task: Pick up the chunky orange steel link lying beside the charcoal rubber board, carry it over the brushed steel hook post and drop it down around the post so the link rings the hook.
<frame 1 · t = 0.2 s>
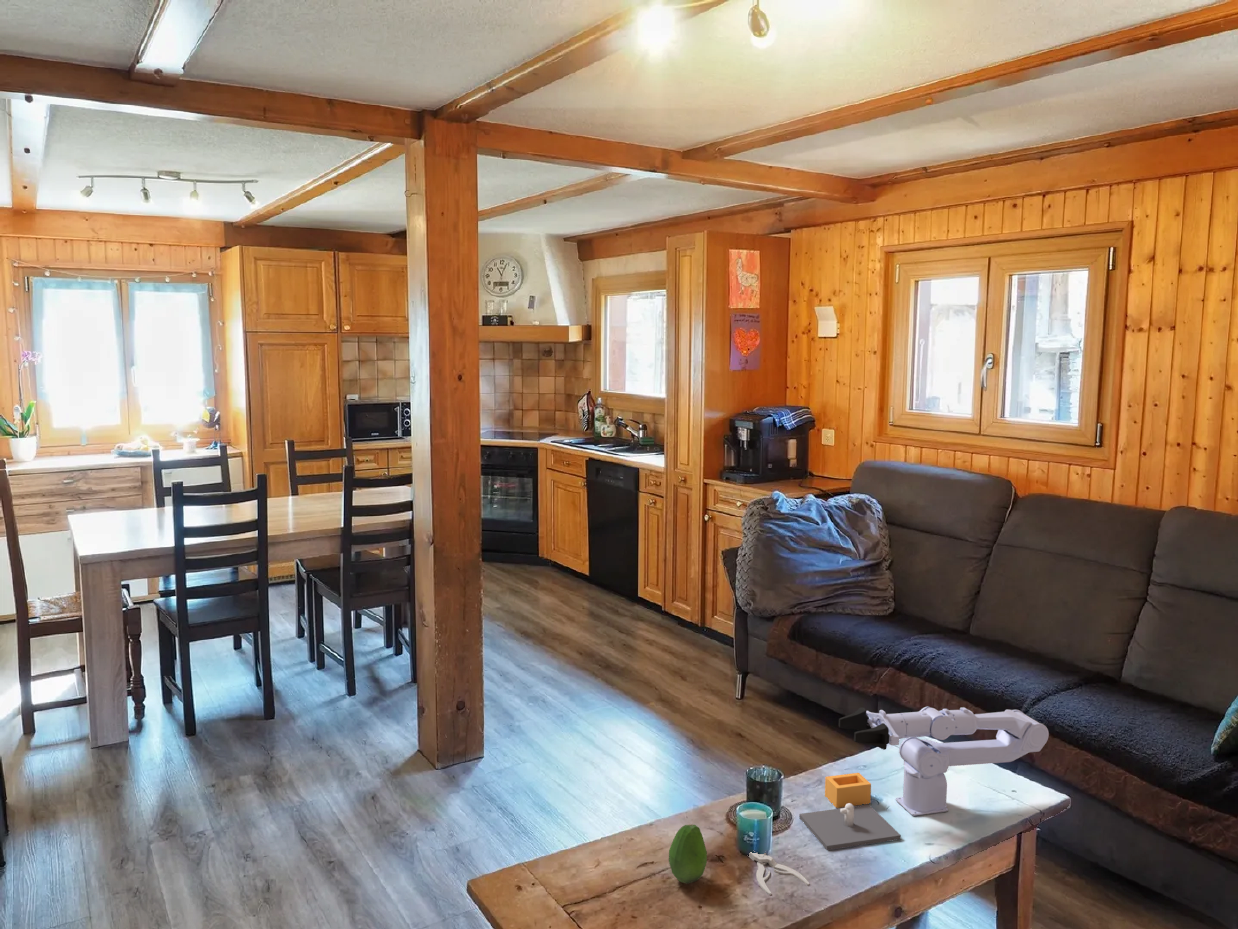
hand: (846, 730, 206), 21 cm above the table, tool horizontal, fingers open, 7 cm apart
pliers: (770, 872, 187), on the table
hook board: (848, 828, 203), on the table
orange link: (847, 799, 216), on the table
avocado: (687, 880, 184), on the table
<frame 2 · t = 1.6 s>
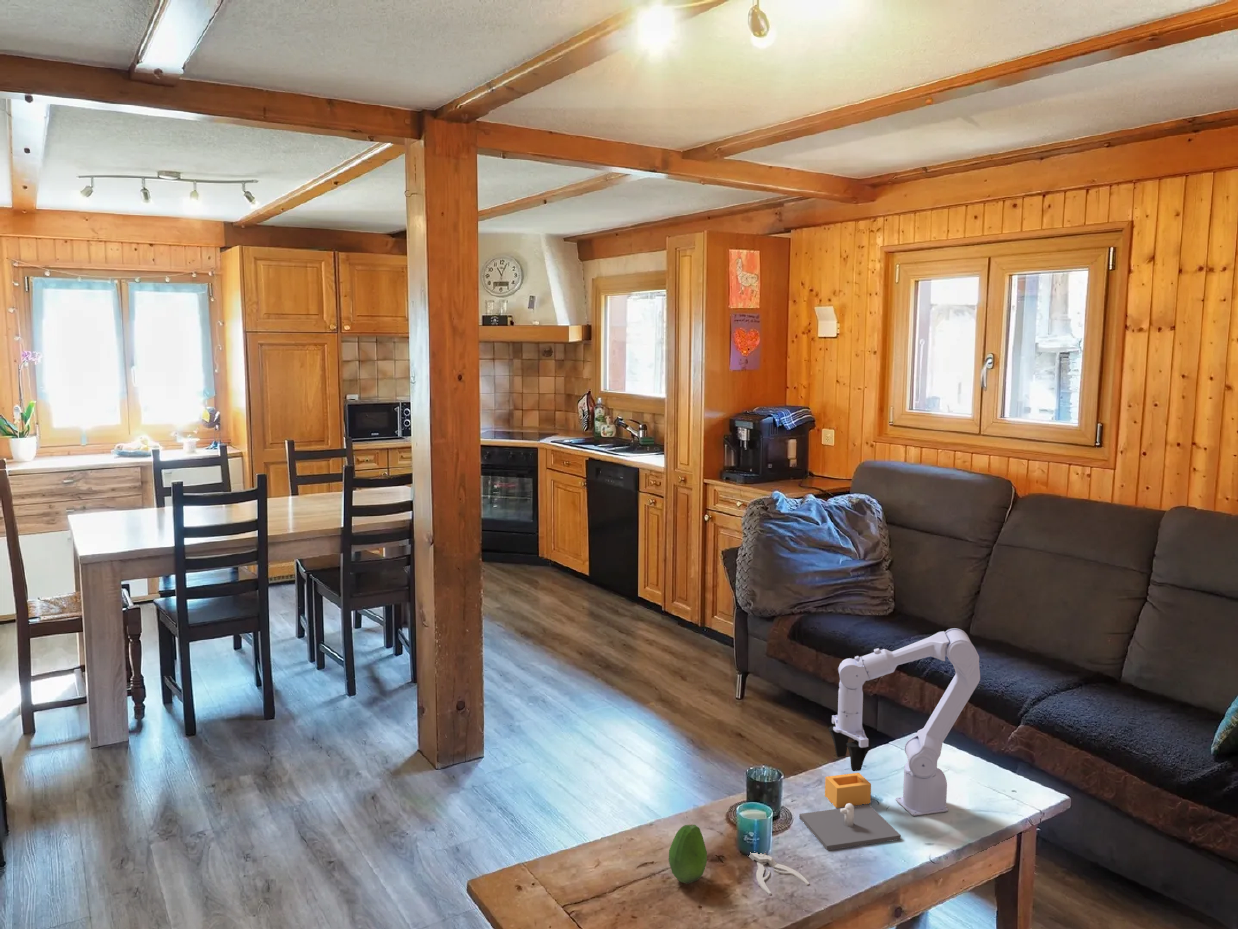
hand: (848, 763, 215), 9 cm above the table, tool pointing down, fingers open, 7 cm apart
nothing on the table moved.
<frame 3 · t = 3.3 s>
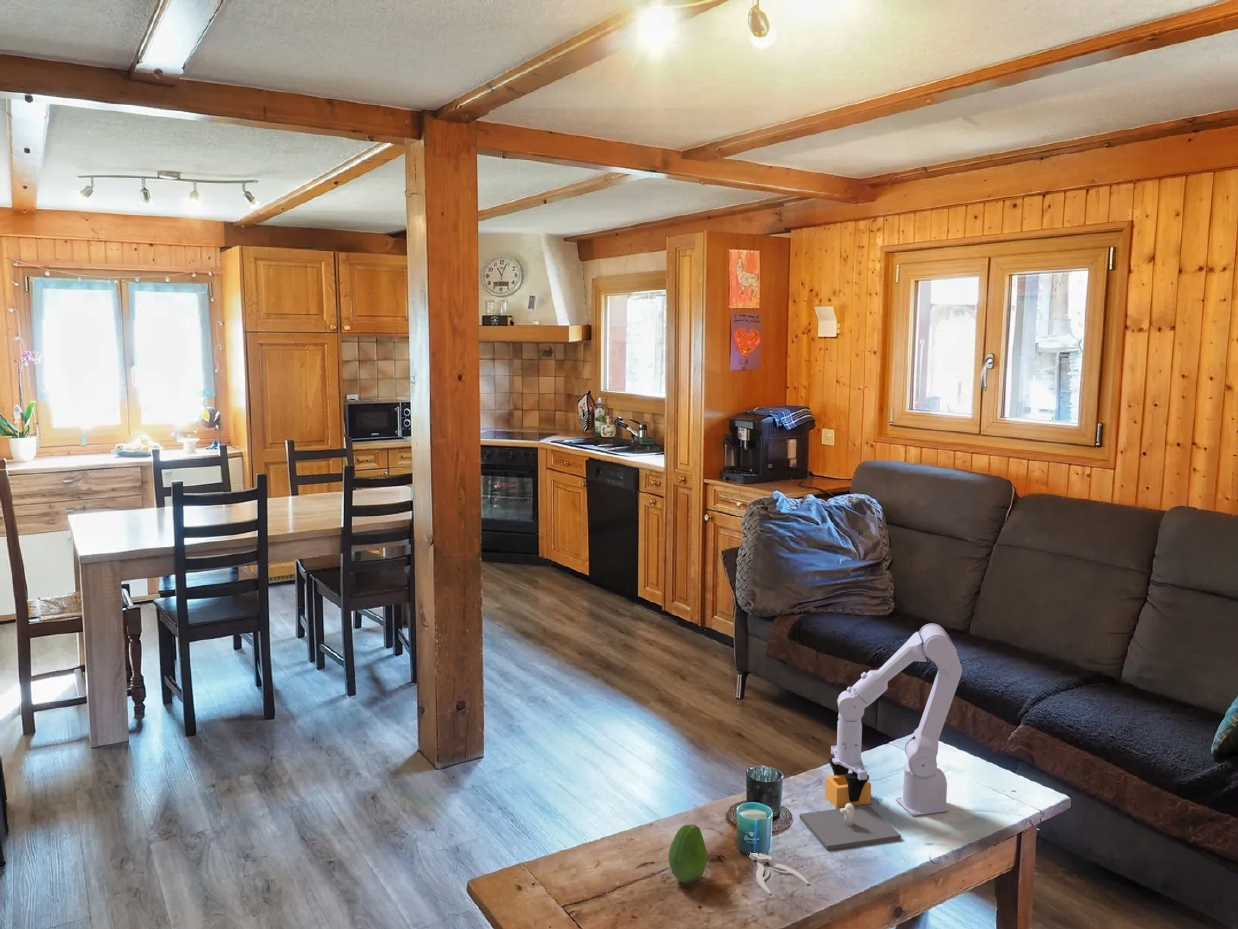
hand: (847, 794, 216), 1 cm above the table, tool pointing down, fingers closed on orange link, 6 cm apart
orange link: (847, 799, 216), on the table, touching gripper
everything else where it was.
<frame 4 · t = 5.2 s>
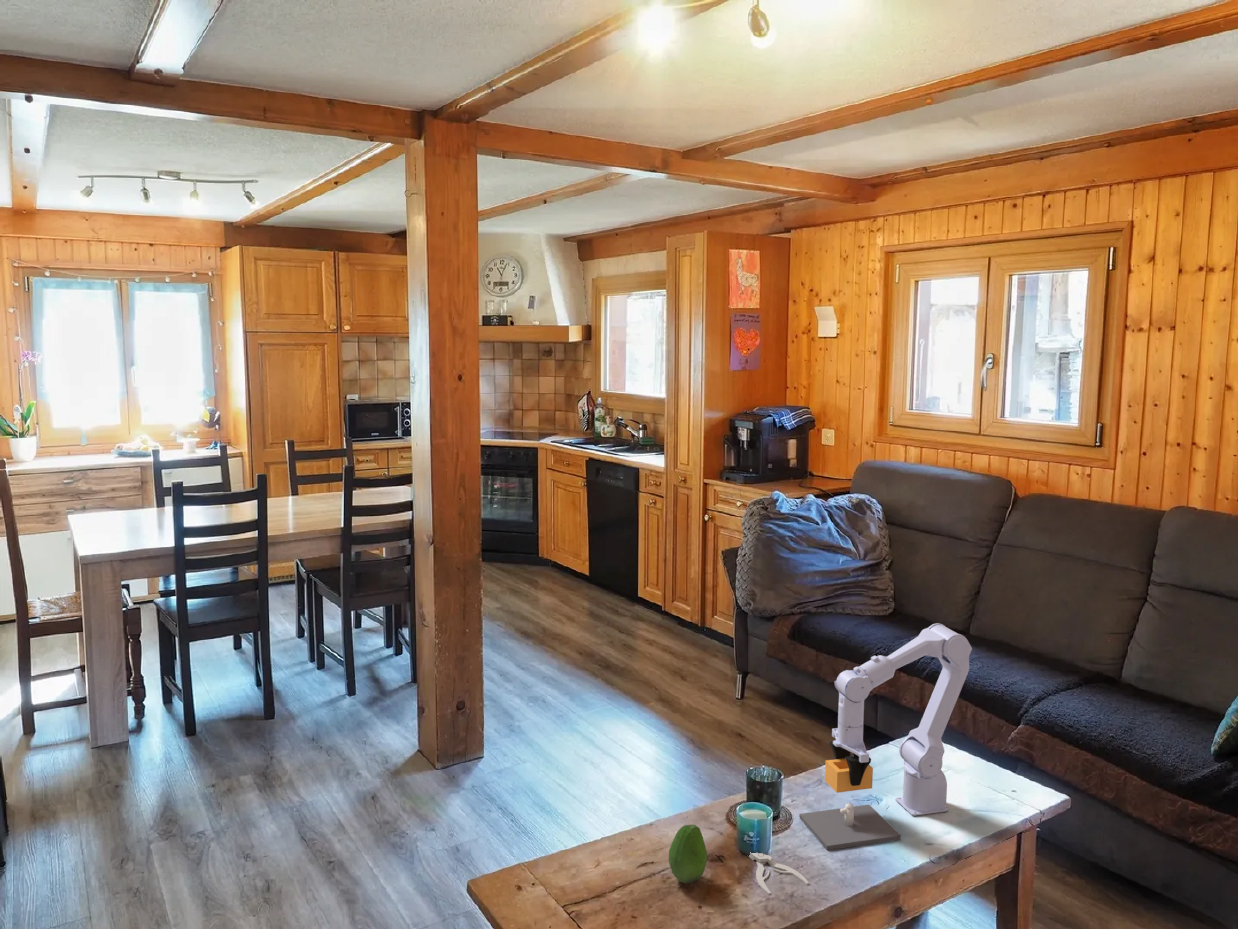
hand: (848, 778, 208), 9 cm above the table, tool pointing down, fingers closed on orange link, 6 cm apart
orange link: (848, 784, 209), point 7 cm above the table, touching gripper
everything else where it was.
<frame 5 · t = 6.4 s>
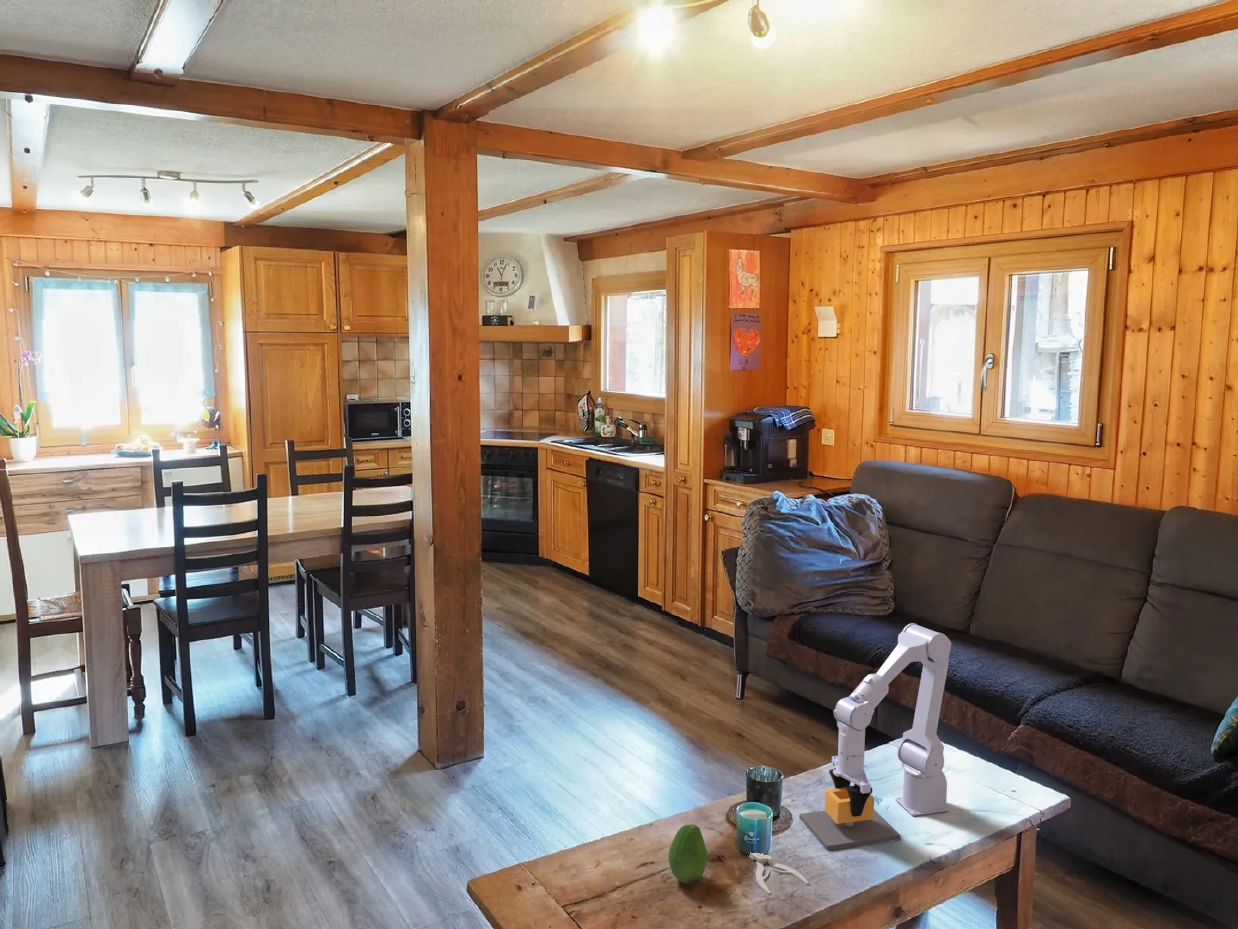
hand: (849, 808, 203), 5 cm above the table, tool pointing down, fingers closed on orange link, 6 cm apart
orange link: (848, 814, 203), point 3 cm above the table, touching gripper
everything else where it was.
when the fingers open (5 cm above the table, at t = 7.4 s): orange link drops 2 cm, resting on hook board.
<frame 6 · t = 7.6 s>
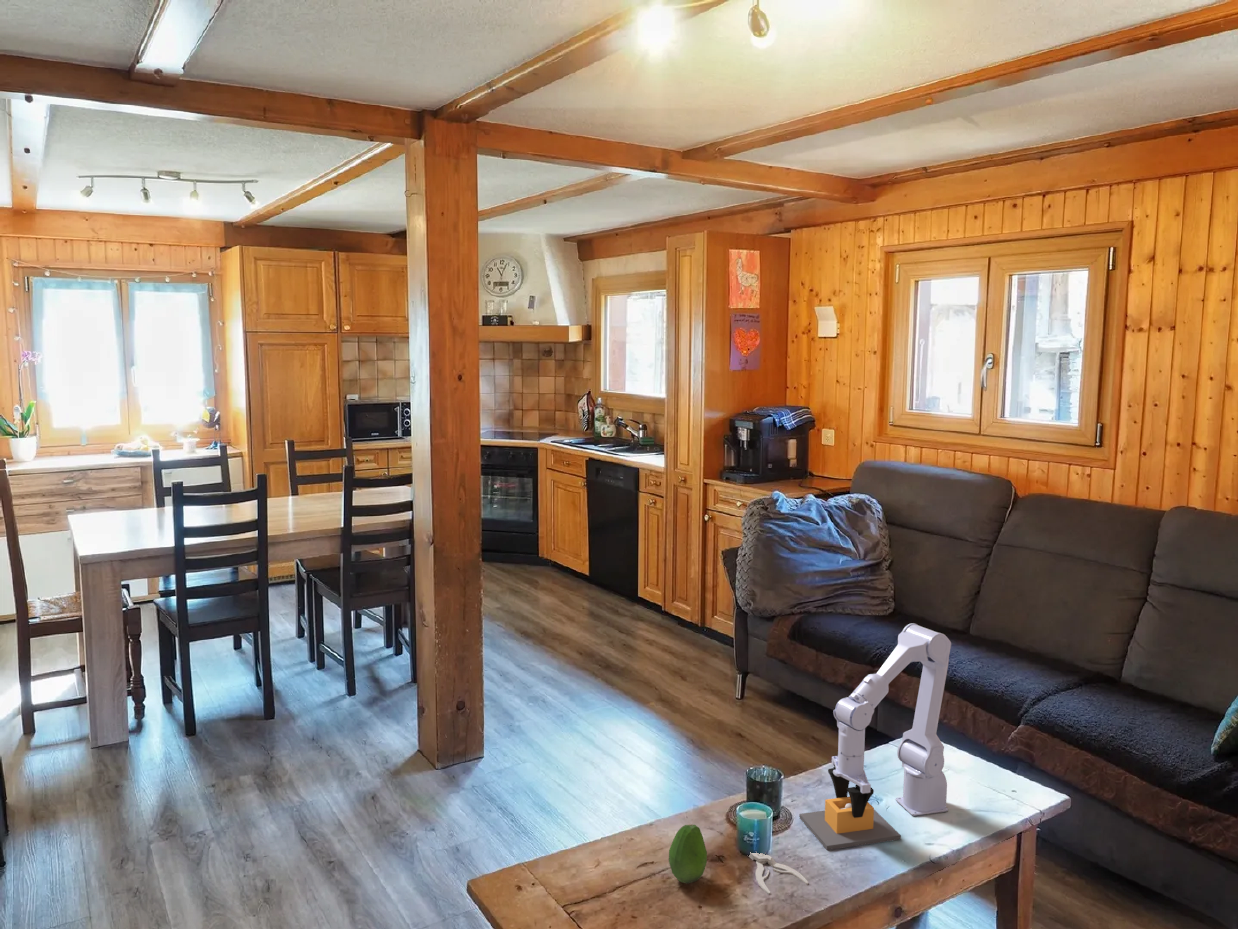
hand: (849, 808, 203), 5 cm above the table, tool pointing down, fingers open, 7 cm apart
orange link: (848, 824, 203), point 1 cm above the table, touching hook board
everything else where it was.
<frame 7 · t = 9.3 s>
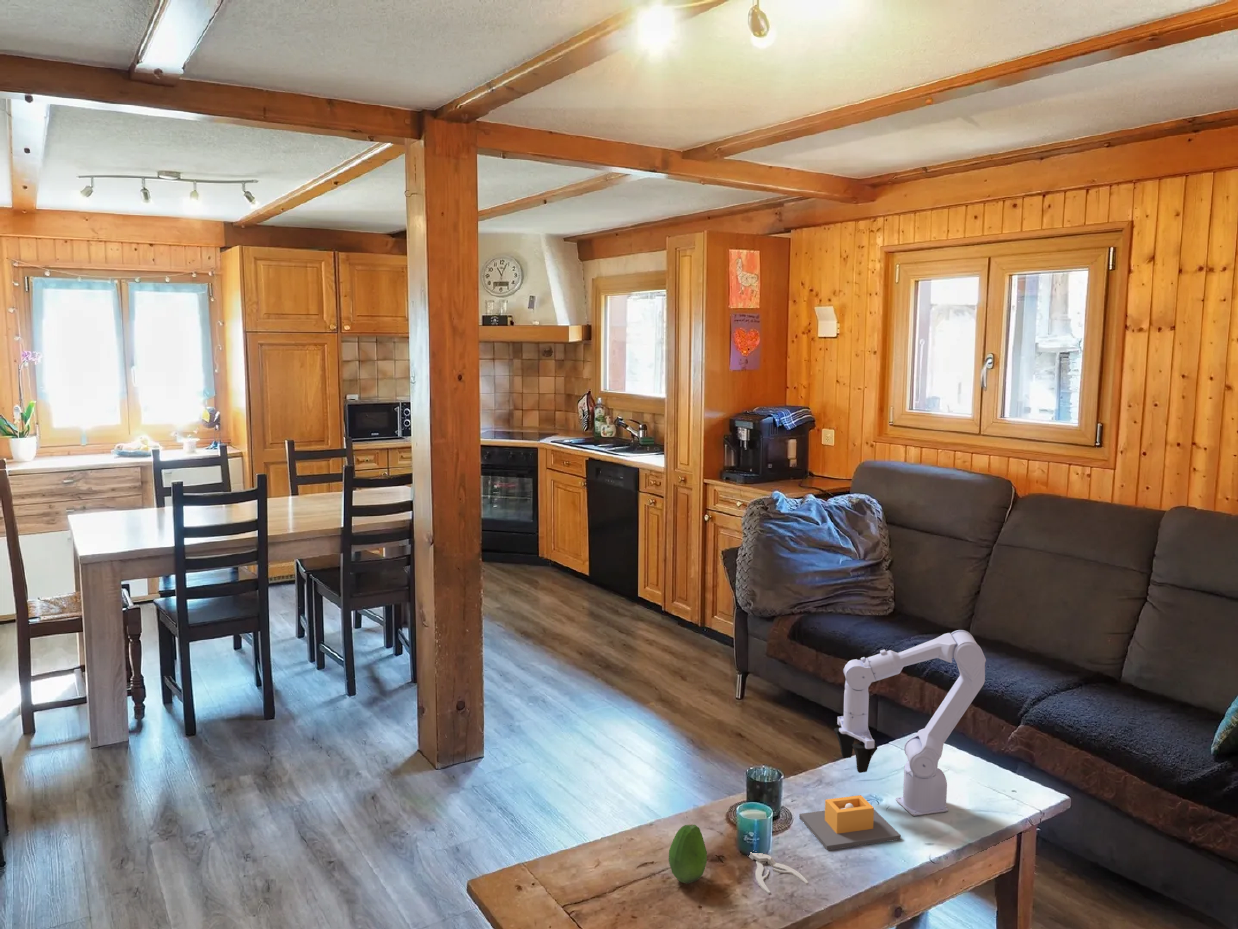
hand: (854, 764, 214), 9 cm above the table, tool pointing down, fingers open, 7 cm apart
nothing on the table moved.
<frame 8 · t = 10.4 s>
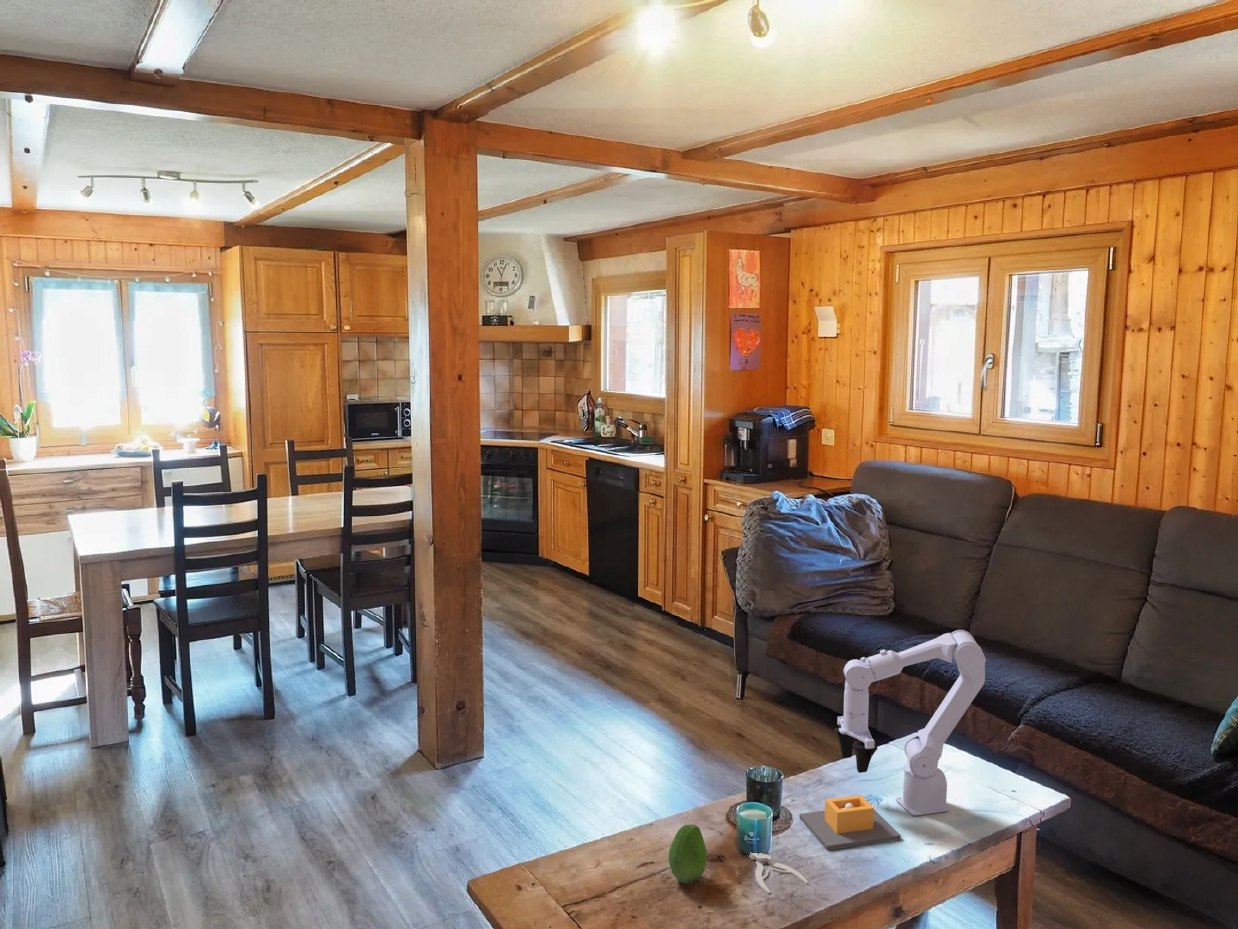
hand: (854, 764, 214), 9 cm above the table, tool pointing down, fingers open, 7 cm apart
nothing on the table moved.
at the end: orange link 0.1 cm from the hook board (horizontally); orange link point 1.0 cm above the table; the gripper is holding nothing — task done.
